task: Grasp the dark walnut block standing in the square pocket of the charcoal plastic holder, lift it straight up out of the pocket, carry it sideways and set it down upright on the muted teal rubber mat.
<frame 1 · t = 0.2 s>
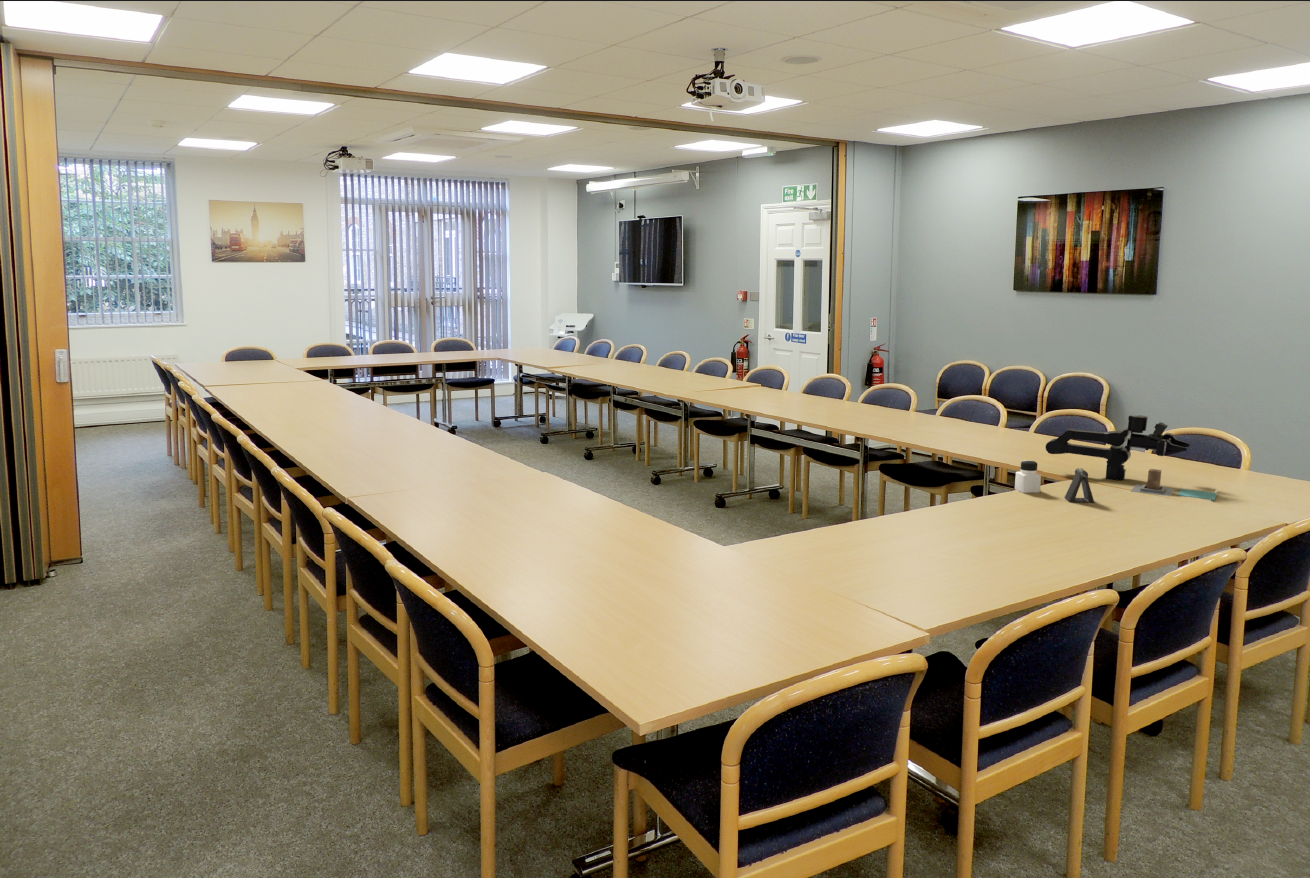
hand: (1188, 447, 362), 17 cm above the table, tool horizontal, fingers open, 9 cm apart
medicine bottle: (1027, 491, 362), on the table
phone stand: (1079, 501, 346), on the table
mat: (1197, 495, 352), on the table
holder: (1152, 491, 359), on the table
walnut block: (1153, 490, 359), point 1 cm above the table, touching holder
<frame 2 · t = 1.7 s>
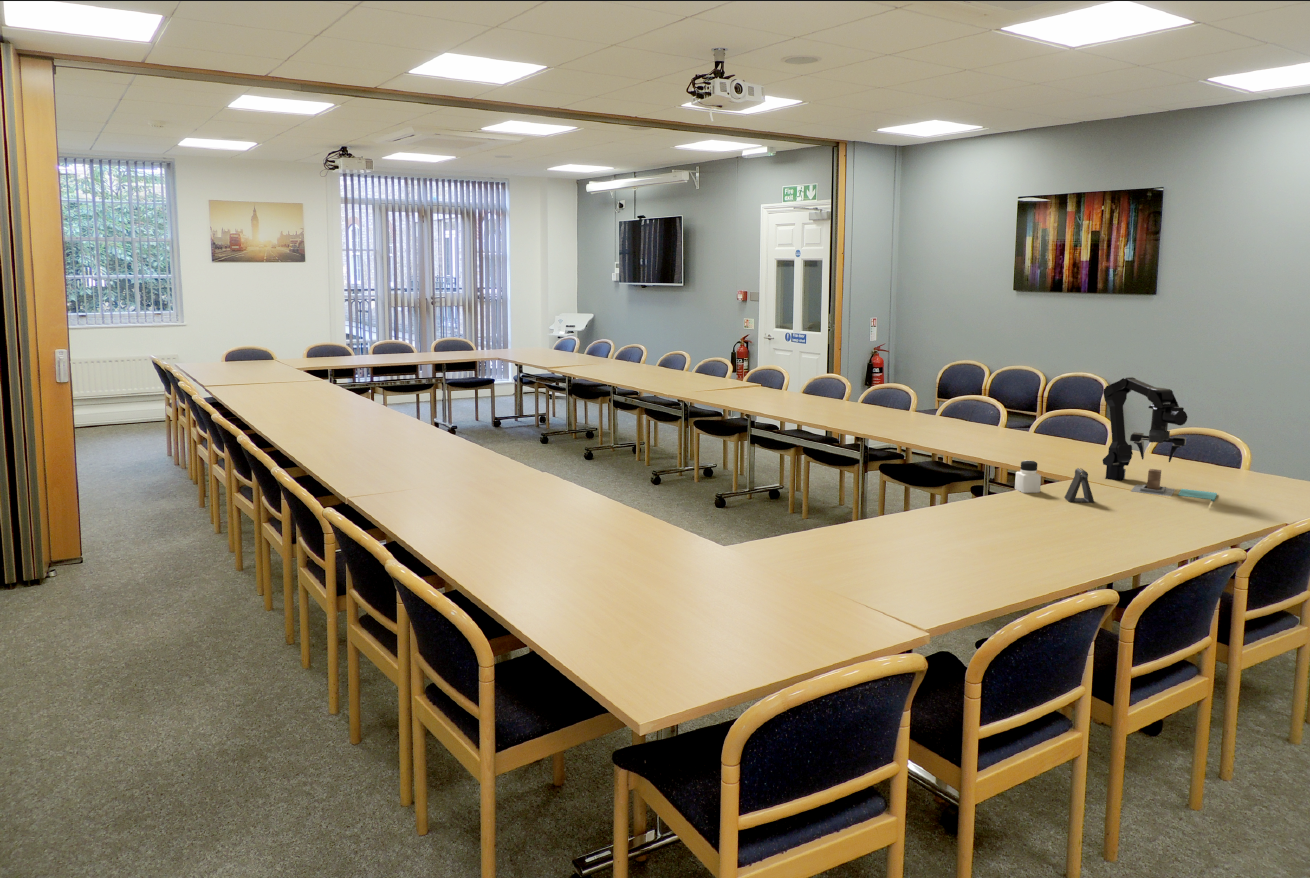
hand: (1155, 460, 357), 12 cm above the table, tool pointing down, fingers open, 9 cm apart
nothing on the table moved.
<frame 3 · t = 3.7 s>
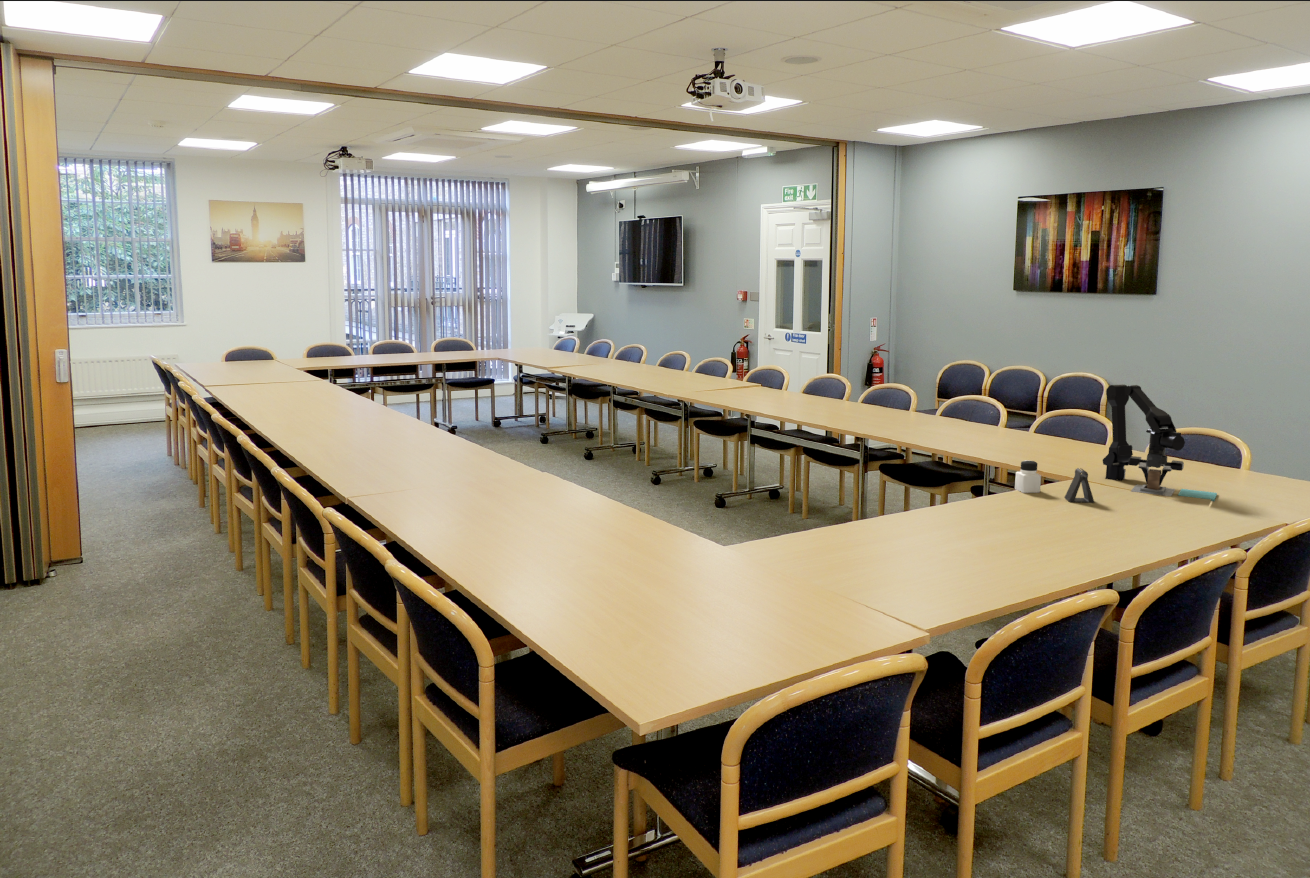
hand: (1153, 484, 359), 3 cm above the table, tool pointing down, fingers closed on walnut block, 4 cm apart
walnut block: (1153, 490, 359), point 1 cm above the table, touching gripper, holder
everything else where it was.
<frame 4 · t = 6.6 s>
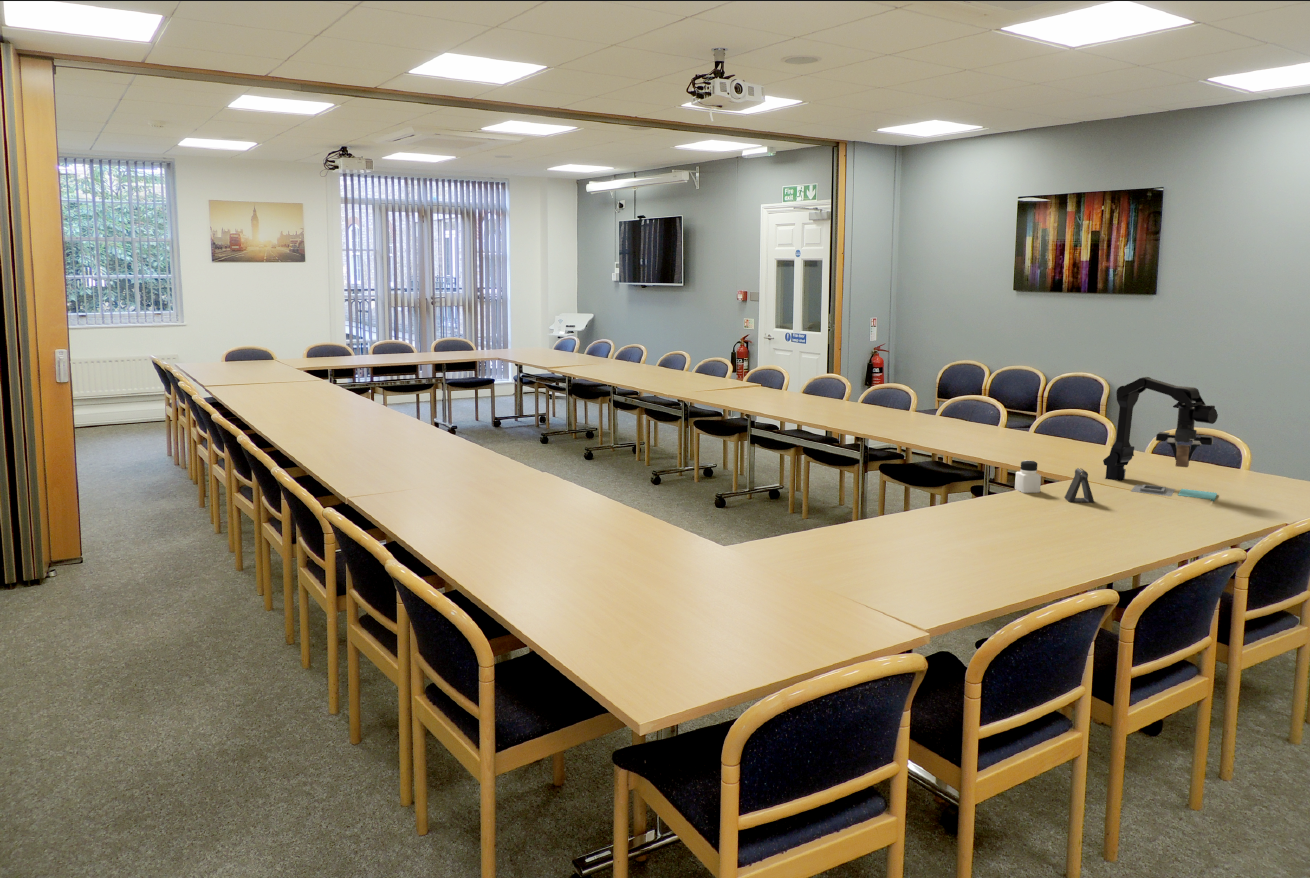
hand: (1182, 460, 352), 13 cm above the table, tool pointing down, fingers closed on walnut block, 4 cm apart
walnut block: (1182, 466, 353), point 11 cm above the table, touching gripper
everything else where it was.
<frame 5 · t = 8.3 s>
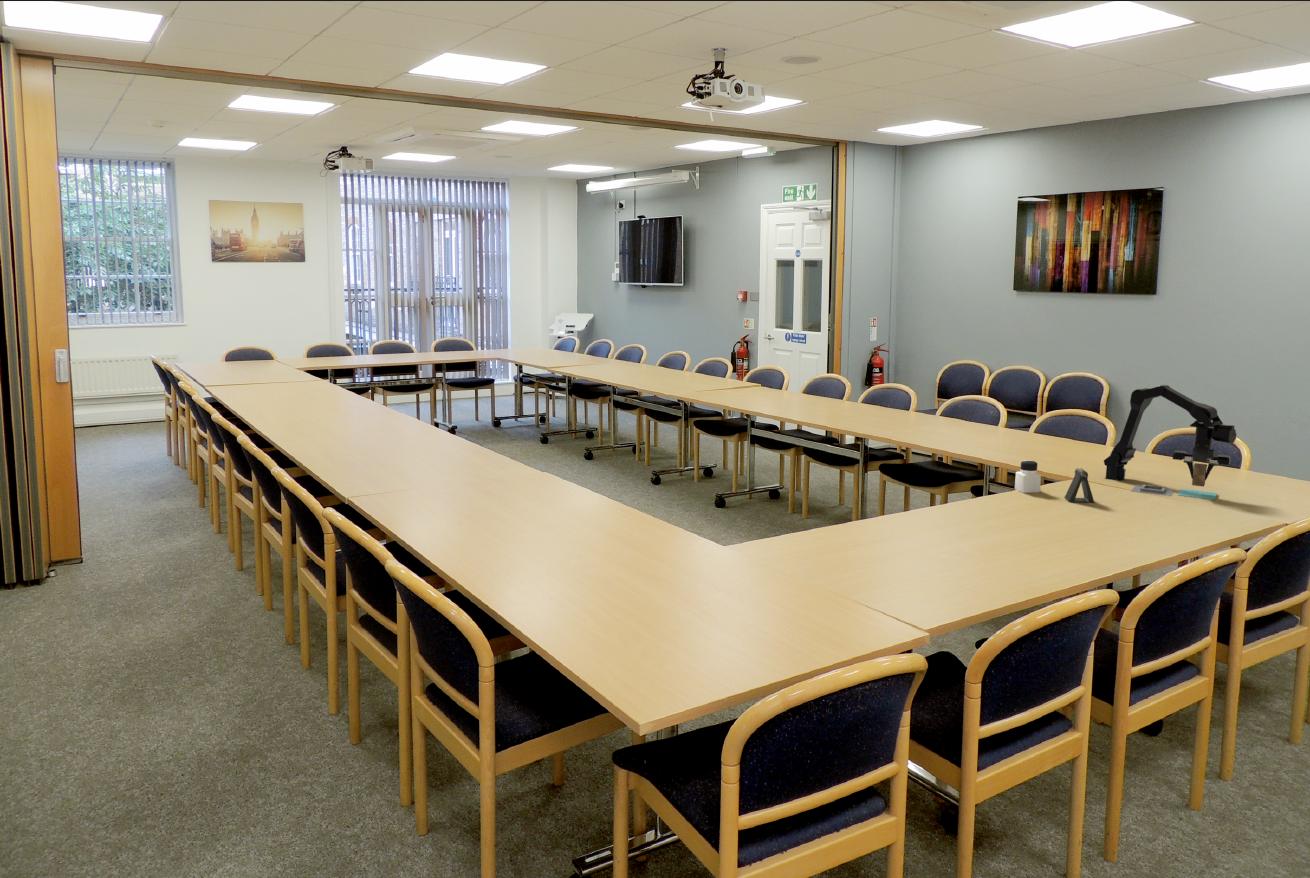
hand: (1198, 479, 351), 7 cm above the table, tool pointing down, fingers closed on walnut block, 4 cm apart
walnut block: (1198, 484, 351), point 4 cm above the table, touching gripper
everything else where it was.
when the fingers open (4 cm above the table, at t = 9.4 s): walnut block drops 1 cm, resting on mat.
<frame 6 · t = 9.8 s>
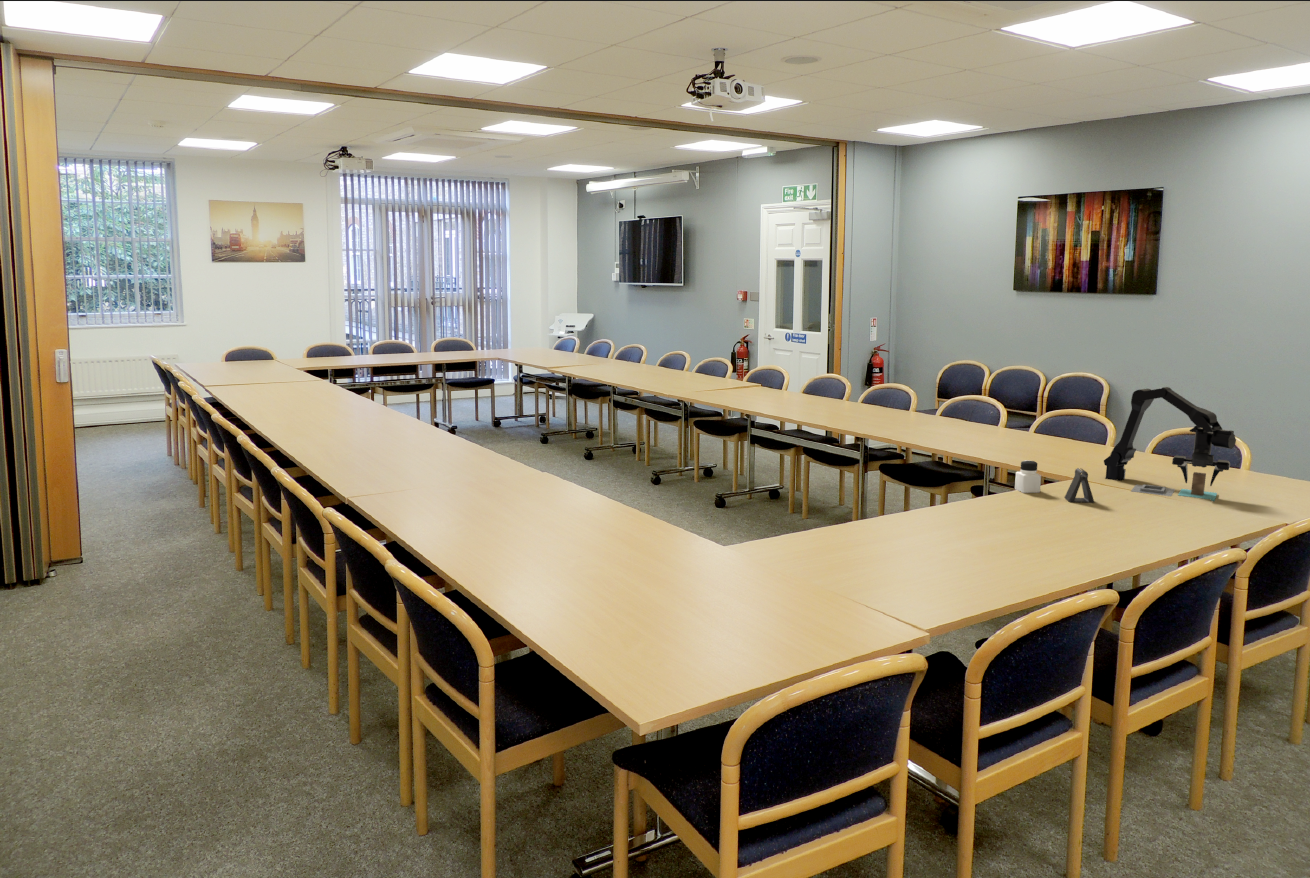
hand: (1198, 484, 351), 4 cm above the table, tool pointing down, fingers open, 8 cm apart
walnut block: (1197, 493, 352), point 1 cm above the table, touching mat
everything else where it was.
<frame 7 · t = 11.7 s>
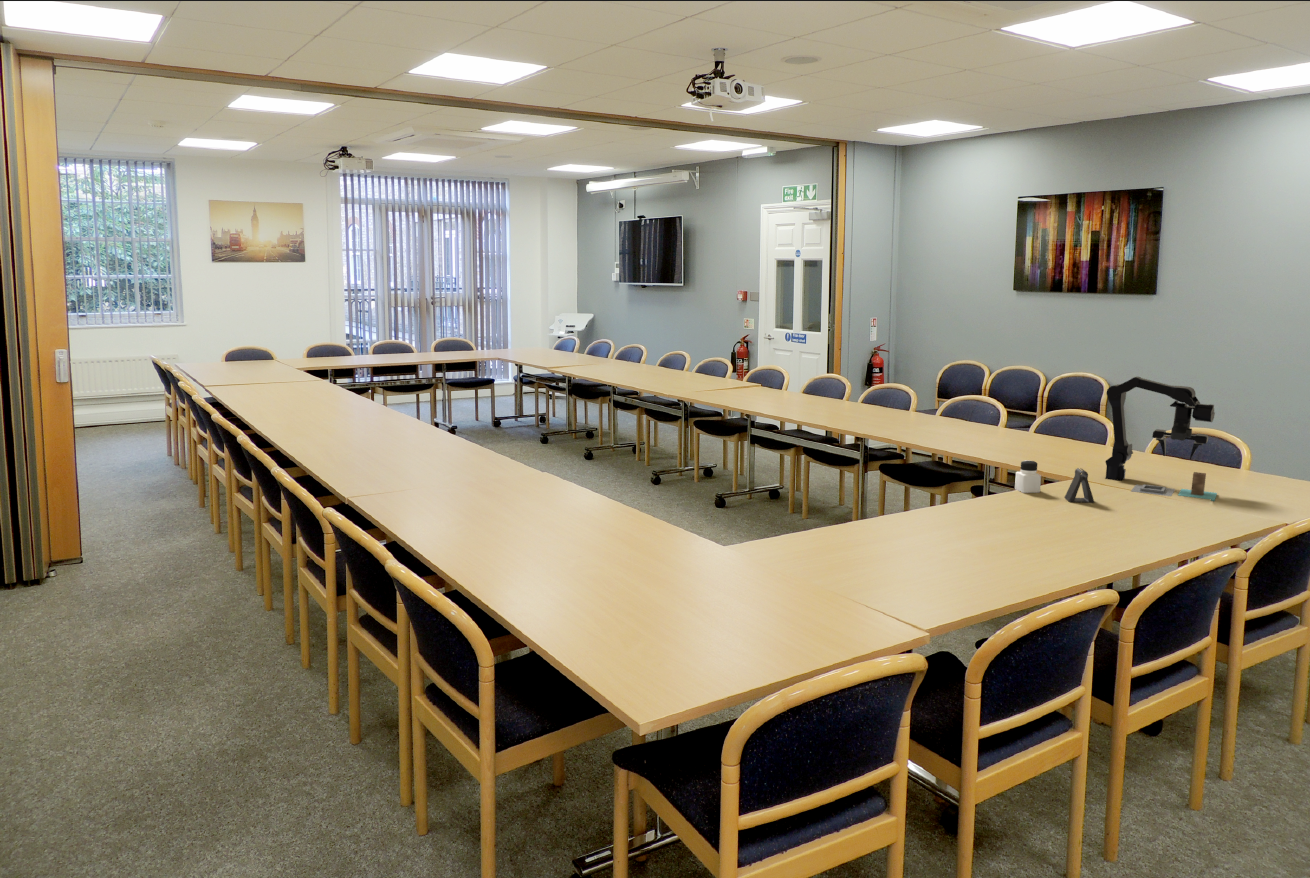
hand: (1177, 457, 362), 12 cm above the table, tool pointing down, fingers open, 9 cm apart
nothing on the table moved.
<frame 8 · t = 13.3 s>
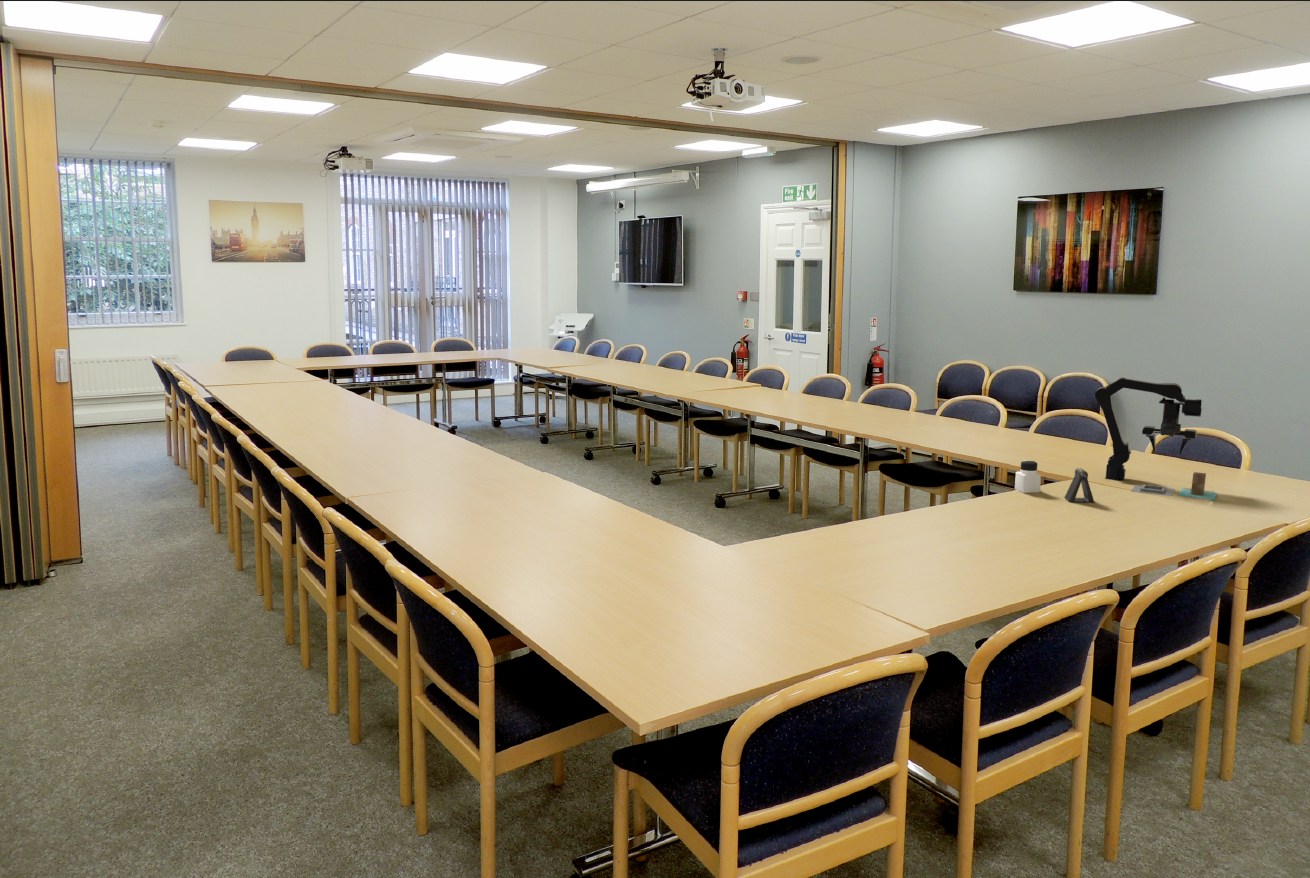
hand: (1167, 453, 368), 13 cm above the table, tool pointing down, fingers open, 9 cm apart
nothing on the table moved.
at the end: walnut block inside the target area on the mat (0.1 cm from its centre), point 0.8 cm above the mat's base; walnut block tilted 0°; the gripper is holding nothing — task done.
